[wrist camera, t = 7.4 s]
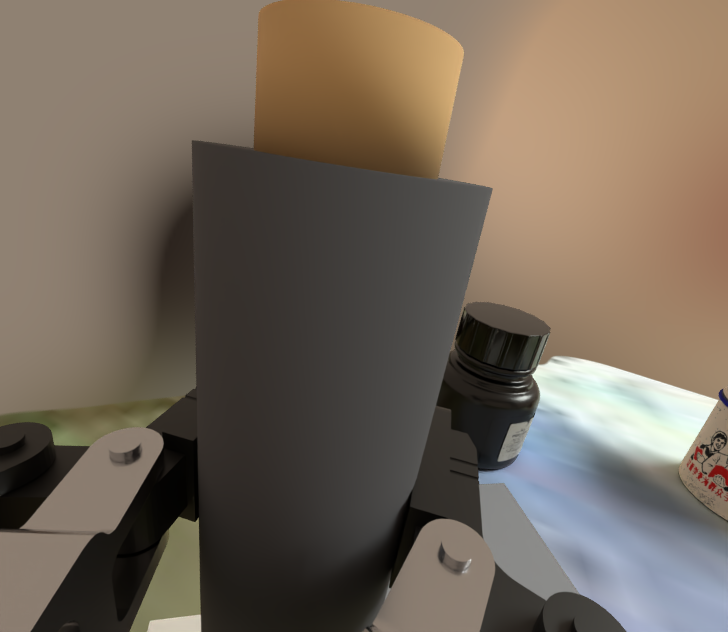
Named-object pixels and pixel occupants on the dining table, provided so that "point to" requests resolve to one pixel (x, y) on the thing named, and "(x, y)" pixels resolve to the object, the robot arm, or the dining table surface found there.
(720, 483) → the teacup with lid
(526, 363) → the ink bottle
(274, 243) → the black cable stub
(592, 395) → the dining table surface
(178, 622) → the square ring with handle
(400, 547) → the robot arm
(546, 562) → the grey felt mat
